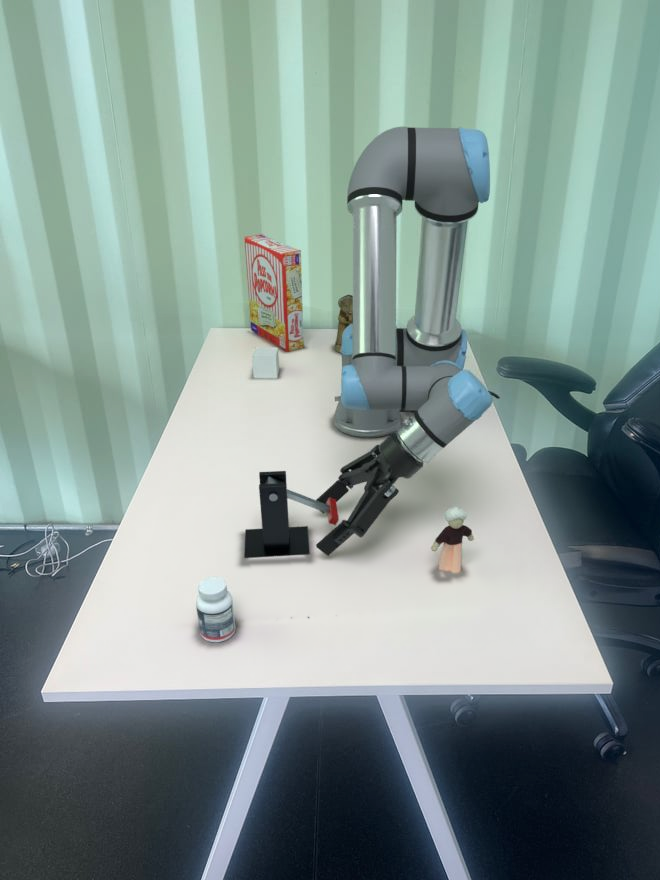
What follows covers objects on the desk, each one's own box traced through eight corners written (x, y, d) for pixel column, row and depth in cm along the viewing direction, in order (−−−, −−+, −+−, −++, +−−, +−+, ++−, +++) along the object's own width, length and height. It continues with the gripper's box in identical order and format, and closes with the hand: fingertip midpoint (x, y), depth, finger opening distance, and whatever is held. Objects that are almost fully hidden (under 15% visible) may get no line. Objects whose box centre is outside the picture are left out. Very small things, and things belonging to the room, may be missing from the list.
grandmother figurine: (441, 585, 124) (446, 521, 117) (426, 573, 127) (430, 510, 120) (476, 569, 128) (483, 506, 121) (461, 558, 130) (467, 495, 124)
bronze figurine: (332, 360, 205) (331, 294, 196) (335, 342, 217) (334, 279, 207) (365, 361, 205) (365, 295, 196) (366, 343, 217) (367, 280, 207)
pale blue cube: (279, 369, 199) (278, 347, 196) (277, 378, 194) (275, 356, 191) (256, 369, 199) (254, 347, 196) (253, 378, 194) (252, 355, 191)
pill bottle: (202, 620, 116) (196, 574, 111) (237, 618, 116) (232, 572, 111) (198, 644, 111) (191, 597, 106) (234, 642, 112) (228, 595, 107)
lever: (331, 507, 133) (337, 496, 132) (333, 528, 128) (340, 517, 127) (262, 480, 128) (268, 469, 127) (262, 501, 123) (268, 489, 122)
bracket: (307, 531, 136) (305, 464, 129) (309, 559, 129) (307, 490, 122) (245, 534, 135) (239, 467, 127) (244, 563, 128) (237, 493, 120)
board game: (250, 331, 223) (243, 236, 208) (268, 327, 226) (263, 233, 212) (286, 352, 209) (281, 252, 195) (305, 348, 213) (302, 249, 198)
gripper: (385, 402, 133) (301, 480, 140) (405, 471, 113) (307, 558, 119) (413, 427, 137) (330, 503, 143) (438, 499, 116) (340, 583, 123)
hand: (319, 528), depth 131 cm, fingers open, 12 cm apart
